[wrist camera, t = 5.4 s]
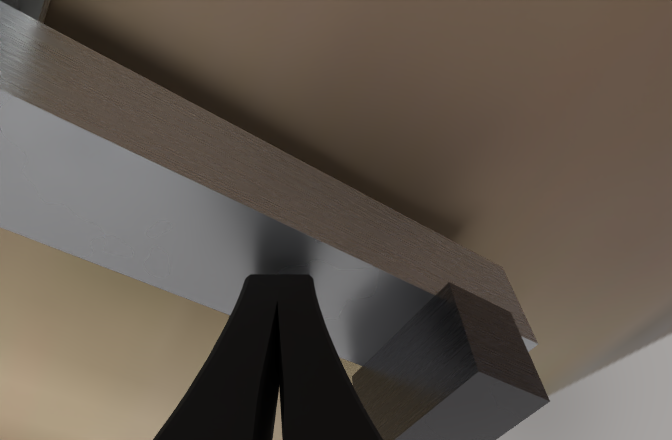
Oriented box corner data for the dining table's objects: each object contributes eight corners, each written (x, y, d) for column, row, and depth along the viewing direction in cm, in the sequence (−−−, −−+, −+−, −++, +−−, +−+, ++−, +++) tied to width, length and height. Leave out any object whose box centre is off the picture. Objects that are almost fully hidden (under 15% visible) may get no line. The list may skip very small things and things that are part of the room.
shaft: (514, 256, 16) (597, 421, 11) (430, 334, 18) (473, 501, 13) (-280, -178, 9) (-873, -197, 4) (-277, 25, 11) (-687, 157, 6)
